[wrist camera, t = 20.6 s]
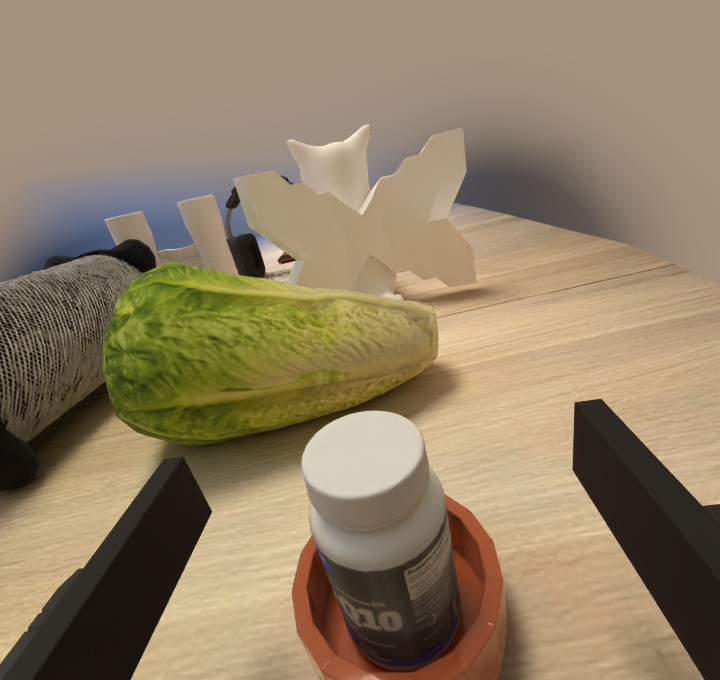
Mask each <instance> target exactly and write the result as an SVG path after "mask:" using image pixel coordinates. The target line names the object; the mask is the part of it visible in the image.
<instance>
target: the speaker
mask: <svg viewBox="0 0 720 680" xmlns="http://www.w3.org/2000/svg"><path fill="white" fill-rule="evenodd" d="M154 268H156V258H155V255H154V253H153V252H152V250H151V249H150V247H149V246H147V245H146V244H144V243H143V242H141V241H140V240H138V239H128V240H125V241H124V242H122V243H121V244H119V245H117V246H116V247H114V248H113V249H104V250H103V249H99V250H95V251H92V252H88V253H85V254H82V255H80V256H78V257H67V256H54V257H52V258H50V259H48V260H47V262H46V265H45V268H44V270H41V271H39V272H32V274H28V275H26V276H19V277H18V278H17V279H13V280H9V281H6V282H2V283H0V491H2V490H6V489H11V488H15V487H19V486H22V485H24V484H27V483H28V482H29V481H30V480H31V479H33V478H34V477H35V476H36V472H37V468H38V462H37V460H36V458H35V455H34V454H33V452H32V450H31V449H30V447H29V445H28V444H27V442H28V441H29V440H30V439H32V438H34V437H36V436H37V435H38V434H39V433H40V432H42V431H43V430H44V429H45V428H46V427H47V426H48V425H50V424H51V423H52V422H53V421H55V420H57V419H58V418H59V417H60V416H61V415H63V414H64V413H65V412H67V411H68V410H69V409H70V408H72V407H73V406H74V405H75V404H76V403H77V402H79V401H81V400H82V399H84V398H85V397H86V396H87V395H88V394H90V393H91V392H93V391H94V390H95V389H96V388H97V387H98V386H100V385H101V384H102V383H104V382H105V377H104V373H103V369H102V362H103V338H104V335H105V332H106V329H107V327H108V324H109V321H110V319H111V316H112V313H113V310H114V308H115V305H116V302H117V300H118V298H119V296H120V295H121V294H122V293H123V291H124V290H125V289H126V287H127V286H128V285H129V284H130V282H131V281H132V280H133V279H134V277H136V276H138V275H140V274H142V273H145V272H147V271H149V270H152V269H154Z"/></svg>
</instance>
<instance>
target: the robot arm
mask: <svg viewBox="0 0 720 680" xmlns="http://www.w3.org/2000/svg"><path fill="white" fill-rule="evenodd" d="M573 471H574V473H575V474H576V476H577V478H578V479H579V481H580V482H581V484H582V486H583V487H584V489H585V490H586V492H587V494H588V495H589V497H590V498H591V500H592V501H593V503H594V505H595V506H596V508H597V509H598V511H599V513H600V514H601V516H602V517H603V519H604V521H605V522H606V524H607V525H608V527H609V528H610V530H611V532H612V533H613V535H614V536H615V538H616V540H617V541H618V543H619V544H620V546H621V548H622V549H623V551H624V552H625V554H626V555H627V557H628V559H629V560H630V562H631V563H632V565H633V567H634V568H635V570H636V571H637V573H638V575H639V576H640V578H641V579H642V581H643V582H644V584H645V586H646V587H647V589H648V590H649V592H650V594H651V595H652V597H653V598H654V600H655V602H656V603H657V605H658V606H659V608H660V610H661V611H662V613H663V614H664V616H665V617H666V619H667V621H668V622H669V624H670V625H671V627H672V629H673V630H674V632H675V633H676V635H677V637H678V638H679V640H680V641H681V643H682V644H683V646H684V648H685V649H686V651H687V652H688V654H689V656H690V657H691V659H692V660H693V662H694V664H695V665H696V667H697V668H698V670H699V671H700V673H701V675H702V676H703V678H704V679H705V680H720V504H717V505H707V506H702V505H701V504H700V503H699V502H698V501H697V500H696V499H695V498H694V497H693V496H692V495H691V494H690V493H689V491H688V490H687V489H686V488H685V487H684V486H683V485H682V484H681V483H680V482H679V481H678V480H677V479H676V478H675V477H674V476H673V474H672V473H671V472H670V471H669V470H668V469H667V468H666V467H665V466H664V465H663V464H662V463H661V462H660V461H659V460H658V459H657V457H656V456H655V455H654V454H653V453H652V452H651V451H650V450H649V449H648V448H647V447H646V446H645V445H644V444H643V443H642V442H641V441H640V439H639V438H638V437H637V436H636V435H635V434H634V433H633V432H632V431H631V430H630V429H629V428H628V427H627V426H626V425H625V424H624V422H623V421H622V420H621V419H620V418H619V417H618V416H617V415H616V414H615V413H614V412H613V411H612V410H611V409H610V408H609V407H608V406H607V404H606V403H605V402H604V401H603V400H602V399H596V400H589V401H582V402H575V407H574V440H573ZM211 513H212V510H211V508H210V507H209V505H208V503H207V501H206V499H205V497H204V495H203V493H202V491H201V489H200V488H199V486H198V484H197V482H196V480H195V478H194V476H193V474H192V472H191V470H190V468H189V467H188V465H187V463H186V461H185V459H184V457H178V458H171V459H164V460H163V461H162V462H161V464H160V465H159V466H158V468H157V469H156V471H155V472H154V473H153V475H152V476H151V477H150V479H149V480H148V481H147V483H146V484H145V485H144V487H143V488H142V490H141V491H140V492H139V494H138V495H137V496H136V498H135V499H134V500H133V502H132V503H131V504H130V506H129V507H128V509H127V510H126V511H125V513H124V514H123V515H122V517H121V518H120V519H119V521H118V522H117V524H116V525H115V526H114V528H113V529H112V530H111V532H110V533H109V534H108V536H107V537H106V538H105V540H104V541H103V543H102V544H101V545H100V547H99V548H98V549H97V551H96V552H95V553H94V555H93V556H92V557H91V559H90V560H89V562H88V563H87V564H86V566H85V567H84V568H83V569H78V570H77V571H76V572H75V573H74V574H73V575H72V576H71V577H69V578H68V579H67V580H66V581H65V582H64V583H63V584H62V585H61V586H60V587H59V588H58V589H57V590H56V592H55V593H54V594H53V596H52V597H51V598H50V600H49V601H48V602H47V603H46V605H45V606H44V607H43V609H42V613H41V614H38V615H37V617H36V618H35V619H34V621H33V622H32V623H31V624H30V626H29V627H28V628H29V629H28V631H27V632H24V634H23V635H22V636H21V638H20V639H19V640H18V642H17V643H16V644H15V645H14V647H13V648H12V649H11V651H10V652H9V653H8V655H7V656H6V657H5V659H4V660H3V661H2V663H1V664H0V680H131V678H132V676H133V673H134V671H135V669H136V667H137V665H138V663H139V661H140V659H141V657H142V655H143V653H144V651H145V649H146V647H147V645H148V643H149V641H150V638H151V636H152V634H153V632H154V630H155V628H156V626H157V624H158V622H159V620H160V618H161V616H162V614H163V612H164V610H165V608H166V606H167V603H168V601H169V599H170V597H171V595H172V593H173V591H174V589H175V587H176V585H177V583H178V581H179V579H180V577H181V575H182V573H183V571H184V569H185V566H186V564H187V562H188V560H189V558H190V556H191V554H192V552H193V550H194V548H195V546H196V544H197V542H198V540H199V538H200V536H201V534H202V531H203V529H204V527H205V525H206V523H207V521H208V519H209V517H210V515H211Z"/></svg>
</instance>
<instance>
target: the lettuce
mask: <svg viewBox="0 0 720 680" xmlns="http://www.w3.org/2000/svg"><path fill="white" fill-rule="evenodd" d="M437 351H438V327H437V320H436V314H435V312H434V310H433V308H432V306H431V305H430V304H427V303H422V302H416V301H406V300H395V299H390V298H386V297H381V296H377V295H372V294H367V293H361V292H356V291H351V290H346V289H324V288H307V287H303V286H298V285H293V284H288V283H283V282H279V281H274V280H269V279H264V278H256V277H249V276H241V275H234V274H230V273H225V272H220V271H215V270H210V269H206V268H200V267H195V266H189V265H183V264H178V263H172V262H168V263H166V264H163V265H161V266H159V267H156V268H154V269H152V270H149V271H147V272H145V273H142V274H140V275H138V276H136V277H134V279H133V280H132V281H131V282H130V284H129V285H128V286H127V287H126V289H125V290H124V291H123V293H122V294H121V295H120V296H119V298H118V300H117V302H116V305H115V308H114V310H113V313H112V316H111V319H110V321H109V324H108V327H107V329H106V332H105V335H104V338H103V362H102V369H103V373H104V377H105V381H106V385H107V389H108V394H109V397H110V400H111V403H112V406H113V409H114V411H115V414H116V416H117V417H118V418H119V419H121V420H122V421H123V422H124V423H126V424H127V425H128V426H130V427H131V428H132V429H133V430H135V431H136V432H137V433H141V434H144V435H147V436H150V437H154V438H157V439H161V440H165V441H169V442H173V443H176V444H180V445H184V446H188V447H193V446H199V445H205V444H212V443H218V442H223V441H227V440H231V439H234V438H238V437H242V436H246V435H250V434H255V433H260V432H265V431H270V430H275V429H279V428H283V427H286V426H290V425H293V424H297V423H301V422H304V421H308V420H311V419H315V418H318V417H322V416H325V415H328V414H331V413H335V412H338V411H341V410H344V409H348V408H351V407H354V406H357V405H359V404H361V403H364V402H366V401H368V400H370V399H372V398H375V397H377V396H379V395H381V394H383V393H385V392H387V391H389V390H391V389H393V388H395V387H397V386H399V385H400V384H402V383H404V382H406V381H408V380H409V379H411V378H413V377H414V376H416V375H418V374H419V373H421V372H422V371H423V370H424V369H425V368H426V367H427V366H428V365H429V364H430V363H432V362H433V361H434V360H435V358H436V357H437Z"/></svg>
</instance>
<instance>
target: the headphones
mask: <svg viewBox="0 0 720 680" xmlns="http://www.w3.org/2000/svg"><path fill="white" fill-rule="evenodd" d="M281 177H282V178H283V179H284V180H286V181H287V182H288V183H289V184H290V185H292V184H293V183H291V182H289V181H288V178H286V177H284V176H281ZM231 192H232V195H231V196H230V198H229V199H228V201H227V203H226V207H227V208H228V210H227V213H226V217H225V228H226V233H227V236H228V239H226V241H227V243H228V246H229V249H230V252H231V254H232V257H233V260H234V263H235V266H236V269H237V270H238V274H239V275H241V276H249V277H256V278H260V277H261V276H263V275H264V274H265V265H264V262H263V259H262V256H261V252H260V249H259V246H258V243H257V240H256V238H255V236H254V235H253V234H250V233H248V234H242V235H240V236H237V237H233V236H232V233H231V229H230V216H231V212H232V209H233V208H236V207H237V206H238V204H239V202H240V199H239V196H238V193H237V189H236V186H235V187H234V189H233V190H232V191H231ZM227 223H228V224H227ZM228 230H229V231H228ZM229 234H230V235H229ZM230 237H231V238H230Z"/></svg>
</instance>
